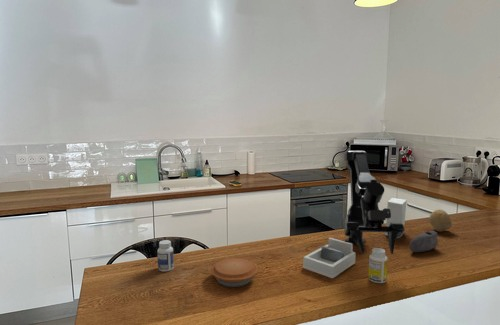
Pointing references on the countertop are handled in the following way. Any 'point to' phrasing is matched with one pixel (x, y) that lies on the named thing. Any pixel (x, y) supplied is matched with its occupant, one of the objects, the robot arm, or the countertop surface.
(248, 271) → the pie
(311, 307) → the countertop surface
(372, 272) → the supplement bottle
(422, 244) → the perforated stone tool
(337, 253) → the pusher plate
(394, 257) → the countertop surface
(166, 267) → the pill bottle
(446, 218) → the natural sponge
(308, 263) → the pusher lane
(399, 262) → the countertop surface
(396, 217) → the skincare box
